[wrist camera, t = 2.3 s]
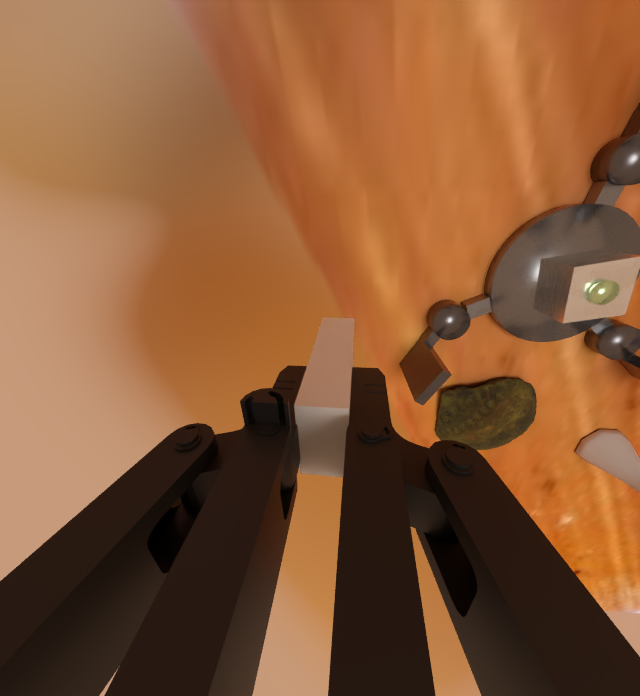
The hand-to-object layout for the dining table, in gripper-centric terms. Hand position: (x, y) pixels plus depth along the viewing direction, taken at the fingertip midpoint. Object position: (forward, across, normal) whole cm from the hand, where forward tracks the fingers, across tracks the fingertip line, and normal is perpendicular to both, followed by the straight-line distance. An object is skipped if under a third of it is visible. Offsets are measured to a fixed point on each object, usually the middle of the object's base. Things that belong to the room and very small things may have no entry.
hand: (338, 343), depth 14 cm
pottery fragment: (+26, +20, -24) cm, 40 cm away
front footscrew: (+25, +11, -11) cm, 29 cm away
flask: (+27, +41, -31) cm, 58 cm away
